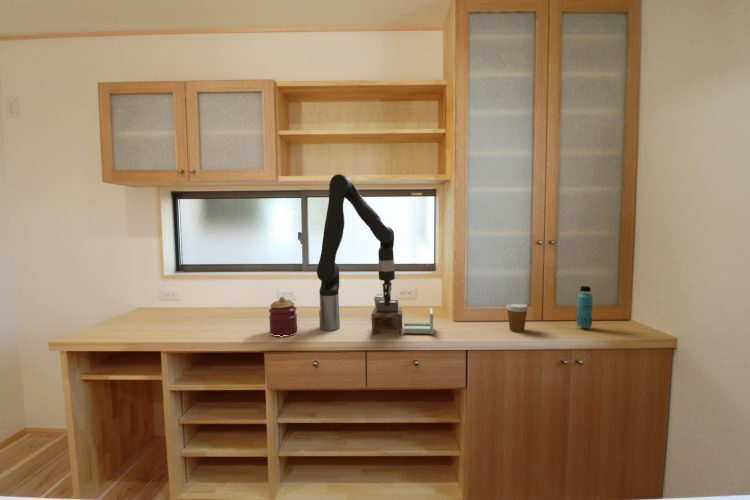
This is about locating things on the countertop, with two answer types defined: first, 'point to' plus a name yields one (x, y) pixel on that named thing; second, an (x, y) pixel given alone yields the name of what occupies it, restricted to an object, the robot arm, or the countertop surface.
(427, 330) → the pullout shelf
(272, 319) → the canister
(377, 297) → the coffee cup
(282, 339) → the countertop surface
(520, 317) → the disposable coffee cup
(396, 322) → the small wooden cabinet
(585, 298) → the beverage bottle
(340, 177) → the robot arm
